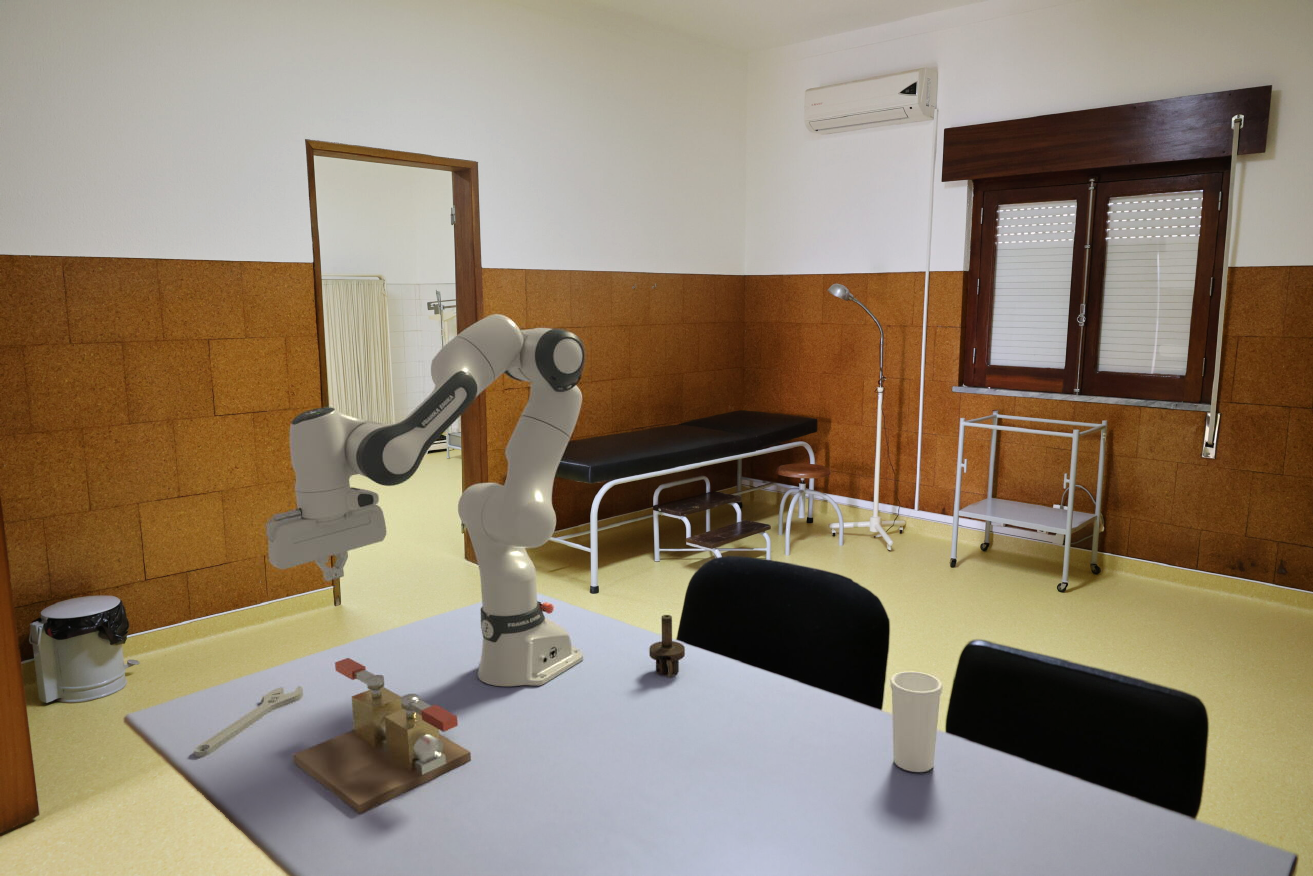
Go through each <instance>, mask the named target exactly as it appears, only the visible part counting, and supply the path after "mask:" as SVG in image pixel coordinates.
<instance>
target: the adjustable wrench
mask: <svg viewBox="0 0 1313 876" xmlns="http://www.w3.org/2000/svg"><path fill="white" fill-rule="evenodd" d="M284 690H285V689H284V686H281V687H277V688H275V689H273V690H271V691H269V692H267V693H266V694H265V695H262V696H261V697H262V698H261V700H260V702H261V704H260V705H258V706H257V707H256V708H254V709H252V710H251V711H249V712H248V713H247V714H245V715H243V716H242V717H240V718H239V719H237V720H235V721H234V722H232V723H231V724H229V725H228V726H226V727H225V728H224V729H222V730H220V731H218V732H217V733H216V734H214V735H212V736H211V737H210V738H208V739H207V740H204V742H202V743H201V744H199V745H197V746H196V747H195V748H194V756H195V757H196V758H203V757H207V756H209V755H211V754H213V752H215V751H217V750H218V749H219V748H220V747H222V746H224V745H225V744H226V743H228V742H229V741H230V740H232V739H234V738H235V737H237V736H238V735H239V733H240V732H241V733H242V732H244V731H245V730H247V729H248V728H250V727H251V726H253V725H254V724H255V723H257V722H258V721H259V719H260V720H262V719H263V718H264V717H265V716H264V715H266V714H267V713H268V714H270V713H272V712H273V711H272V710H274V711H275V709H276V710H278V709H281V708H282V707H286V706H288V704H289V705H291V704H293V702H294V703H296V701H297V702H298V701H300V700H301V699H302V698H303V696H304V690H303V687H302V686H300V685H297V687H296V688H295V690H294V691H291V692H289V693H284V692H285V691H284ZM290 703H291V704H290ZM285 705H286V706H285ZM280 707H281V708H280ZM277 708H278V709H277ZM271 711H272V712H271ZM269 712H270V713H269ZM268 714H267V715H268ZM267 715H266V716H267ZM263 716H264V717H263ZM262 717H263V718H262ZM256 721H257V722H256ZM254 722H255V723H254ZM253 723H254V724H253ZM252 724H253V725H252ZM250 725H251V726H250ZM249 726H250V727H249ZM246 728H247V729H246ZM244 729H245V730H244ZM243 730H244V731H243ZM241 733H240V734H241ZM236 735H237V736H236ZM203 750H204V751H203ZM214 750H215V751H214ZM210 753H211V754H210ZM206 755H207V756H206Z"/></svg>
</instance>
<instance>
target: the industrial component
mask: <svg viewBox="0 0 1313 876" xmlns="http://www.w3.org/2000/svg"><path fill="white" fill-rule="evenodd" d="M660 619H661V640H660V641H657V642H654V643H652V644H651V645H650V646H649V649H648V651H649V658H651V659H653V660H654V661H655V673H656V674H657V675H659V676H661V677H663V676H668V677H667V678H668V679H670V678H673V677H674V676H676V675H678V674H679V672H680V669H679V668H680V666H679V663H680V662H679V661H681V660H682V659H683V658H684V657H685V654H686V652H685V651H686V649H685V645H684V644H682V643H680V642H677V641H674V640H673V616H672V615H671V614H664V615H661V618H660Z"/></svg>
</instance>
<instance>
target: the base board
mask: <svg viewBox="0 0 1313 876" xmlns="http://www.w3.org/2000/svg"><path fill="white" fill-rule="evenodd" d="M439 740H440V741H441V742H442V744H443V750H442V753H443V754H444V755H445V758H446V764H444V765H442V766H440V767H438V768H436V769H434V770H431V771H429V772H427V773H425V774H423V775H422V774H420V773H419V772H417V771H416V770H415V769H413V770H411V771H410V770H408V769H407V768H405V767H404V766H402V765H401V764H399V763H398V762H396V761H395V760H393V759H392V758H390V757H389V756H388V755H387V751H385V750H384V749H383V744H382V745H380V746H378V747H374V746H372V745H371V744H369V743H368V742H366V741H365V740H363V739H362V738H360V737H358V736H357V735H355V733H354V729H352V730H349V731H348V732H344V733H342V734H340V735H337V736H335V737H332V738H330V739H328V740H324V741H322V742H320V743H318V744H315V745H313V746H311V747H308V748H306V749H303V750H301V751H299V752H295V753H293V754H292V755H293V756H292V757H293V763H294V764H295V765H297V766H298V767H299V768H301V770H303V771H304V772H306V773H307V774H308V775H309V776H310V777H312V779H315V780H316V781H317V782H319V783H320V784H321V785H322V786H324V787H325V788H326V789H327V790H329V791H330V792H331V793H333V795H335V796H336V797H337V798H339V799H340V800H341V801H343V802H344V803H345V804H346V805H348V807H351V808H352V809H353V810H354V811H355V812H356V813H357V814H363V813H366V812H367V811H369V810H371V809H373V808H376V807H378V806H379V805H382V804H385V802H388V801H390V800H391V799H394V798H395V797H399V796H400V795H402V794H405V793H406V792H408V791H411V790H412V789H414V788H416V787H419V786H421V785H423V784H425V783H426V782H430V781H431V780H433V779H436V778H437V777H439V776H442V775H443V774H445V773H447V772H449V771H451V770H454V769H455V768H457V767H460V766H462V765H465V764H466V763H468V762H470V761H472V758H471V751H470V750H469V749H466V748H464V747H463V746H461V745H459V744H458V743H456V742H454V741H453V740H451V739H449V738H447V737H445V736H444V735H442V734H441V733H439Z"/></svg>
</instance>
